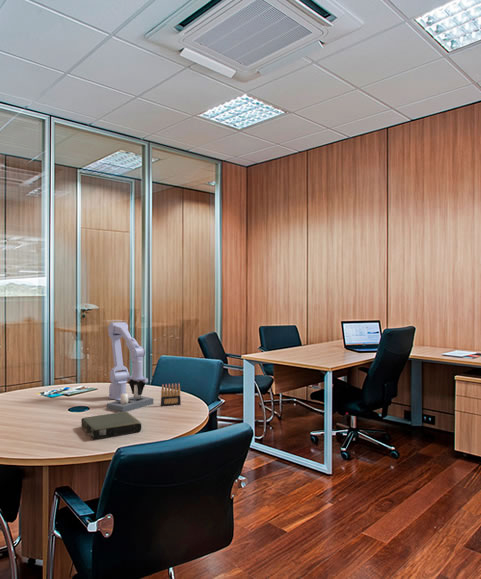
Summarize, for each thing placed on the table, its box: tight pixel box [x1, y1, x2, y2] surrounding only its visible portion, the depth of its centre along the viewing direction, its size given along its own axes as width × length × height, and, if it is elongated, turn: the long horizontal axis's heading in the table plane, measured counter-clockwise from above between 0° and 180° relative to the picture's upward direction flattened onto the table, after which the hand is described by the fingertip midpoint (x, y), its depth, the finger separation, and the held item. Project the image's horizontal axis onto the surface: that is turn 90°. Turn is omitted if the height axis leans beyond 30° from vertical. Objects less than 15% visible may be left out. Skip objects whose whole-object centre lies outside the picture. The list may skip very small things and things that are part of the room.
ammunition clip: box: [160, 382, 182, 407], centre depth 238 cm, size 11×2×12 cm, turn 109°
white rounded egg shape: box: [133, 384, 142, 399], centre depth 239 cm, size 4×4×7 cm
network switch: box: [80, 411, 142, 441], centre depth 194 cm, size 23×24×5 cm
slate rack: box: [106, 392, 154, 413], centre depth 235 cm, size 12×22×8 cm, turn 147°
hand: (137, 394), depth 238 cm, fingers closed on white rounded egg shape, 4 cm apart
